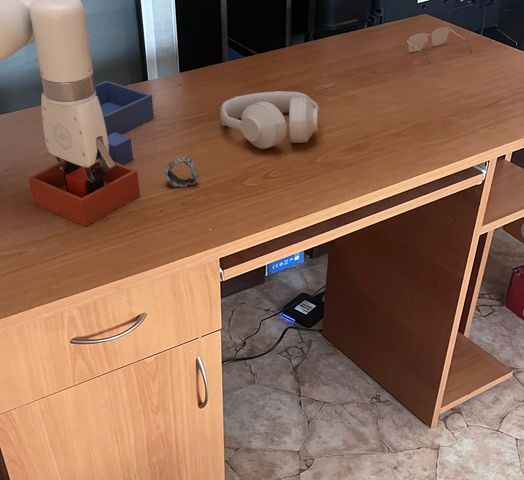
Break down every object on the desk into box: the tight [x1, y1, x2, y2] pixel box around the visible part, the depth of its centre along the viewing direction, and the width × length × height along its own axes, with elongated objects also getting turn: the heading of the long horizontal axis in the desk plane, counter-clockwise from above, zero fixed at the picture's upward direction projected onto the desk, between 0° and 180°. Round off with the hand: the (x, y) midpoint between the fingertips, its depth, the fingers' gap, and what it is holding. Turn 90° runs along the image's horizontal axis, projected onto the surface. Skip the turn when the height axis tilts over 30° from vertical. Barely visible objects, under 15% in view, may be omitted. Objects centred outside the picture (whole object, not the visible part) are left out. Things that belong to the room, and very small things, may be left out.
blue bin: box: [95, 80, 155, 136], centre depth 150 cm, size 12×12×5 cm
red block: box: [66, 167, 95, 198], centre depth 127 cm, size 4×4×4 cm
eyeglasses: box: [406, 26, 473, 64], centre depth 180 cm, size 14×8×4 cm, turn 124°
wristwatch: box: [164, 155, 198, 188], centre depth 131 cm, size 3×5×5 cm
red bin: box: [27, 161, 141, 228], centre depth 127 cm, size 12×12×5 cm
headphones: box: [219, 90, 320, 149], centre depth 146 cm, size 18×8×20 cm
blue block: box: [107, 132, 134, 165], centre depth 138 cm, size 4×4×4 cm
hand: (86, 194), depth 128 cm, fingers open, 4 cm apart
